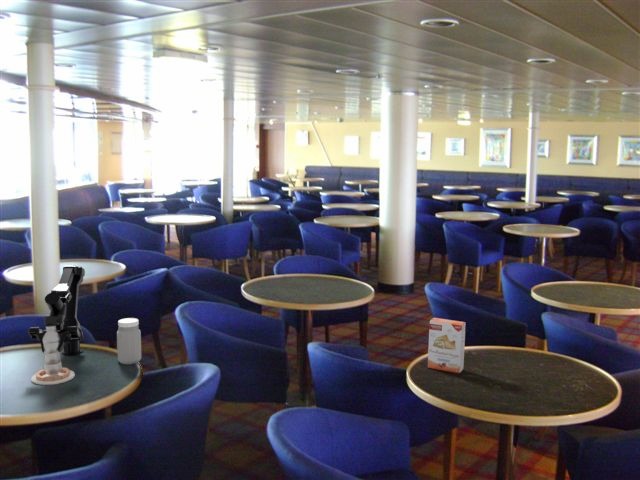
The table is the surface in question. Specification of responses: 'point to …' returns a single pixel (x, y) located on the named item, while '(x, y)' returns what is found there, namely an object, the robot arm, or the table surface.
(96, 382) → the table surface
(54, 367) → the plastic bottle
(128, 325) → the jar
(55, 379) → the white orange plate
